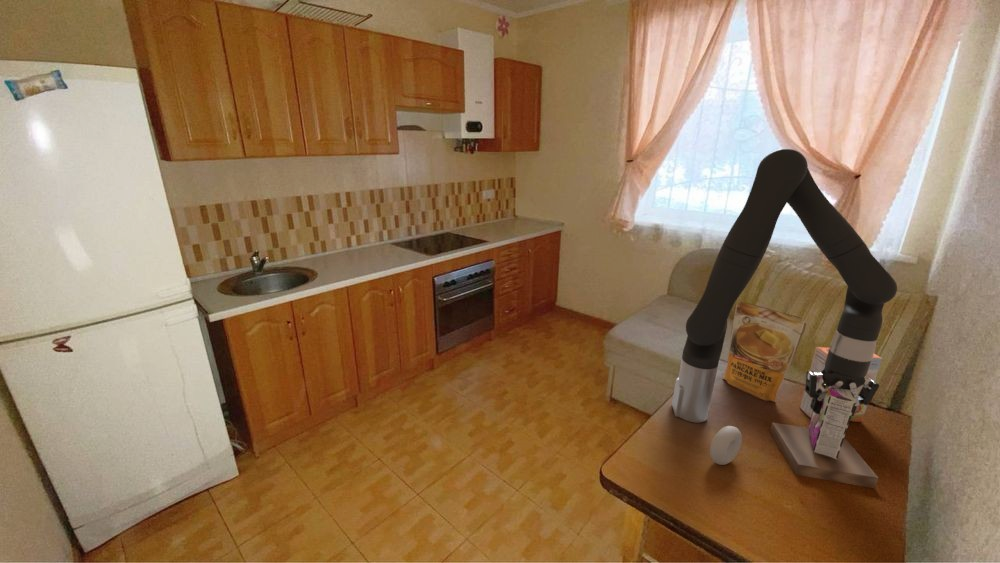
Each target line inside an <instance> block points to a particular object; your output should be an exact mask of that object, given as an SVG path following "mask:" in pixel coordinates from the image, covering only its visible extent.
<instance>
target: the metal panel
mask: <svg viewBox="0 0 1000 563" xmlns="http://www.w3.org/2000/svg"><path fill="white" fill-rule="evenodd" d="M769 430H770V431H769V432H770V434H771V436H772V438H773V439H774V441H775V443H776V444H777V446H778V447H779V449H780V451H781V452H782V454H783V456H784V458H785V459H786V461H787V462H788V464H789V466H790V467H791V469H792V471H793V472H794V474H795V475H796V476H802V477H808V478H813V479H818V480H819V479H820V480H826V481H831V482H836V483H843V484H849V485H853V486H859V487H865V488H871V489H875V488H876V487H877V484H878V480H879V479H880V478H879V477H878V475H876V473H875V472H874V470H873V469H872V468H871V467H870V466H869V465H868V463H867V462H866V461H865V459H863V457H862V456H861V455H860V454H859V453H858V452H857V451H856V449H855V448H854V447H853V445H851V443H850V442H849V441H848V440H847V439H846V438H845V437H844V440H843V443H842V446H841V449H840V452H839V455H838V458H837V459H834V458H830V457H827V456H824V455H820V454H817V453H815V452H813V447H812V442H811V436H810V432H809V427H806V426H799V425H791V424H787V423H786V424H785V423H780V422H773V421H772V422H771V426H770V429H769Z"/></svg>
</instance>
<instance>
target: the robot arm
mask: <svg viewBox="0 0 1000 563" xmlns="http://www.w3.org/2000/svg"><path fill="white" fill-rule="evenodd" d="M787 204H788V205H789V207H790V208H791V209H792V210H793V212H794V213H795V214H796V216H797V217H798V218H799V220H800V221H801V224H802V225H803V227H804V228H805V230H806V231H807V233H808V234H809V237H811V239H812V241H813V242H814V243H815V245H816V246H817V247H818V249H819V250H820V251H821V253H822V254H823V255H824V257H825V258H826V259H827V260H828V262H830V264H831V265H832V266H833V267H834V268H835V269H836V271H837V272H838V273H839V275H840V276H841V278H842V280H843V281H844V282H845V284H846V285H847V287H846V294H845V297H844V298H845V300H844V305H843V309H842V310H843V311H842V313H841V315H840V318H839V320H838V325H837V327H836V331H835V332H834V335H833V337H832V339H831V342H830V345H829V347H828V348H829V352H828V355H827V358H826V361H825V368H824V370H823V371H821V373H813V372H812V371H810V370H807V371H806V372H805V373H806V375H805V387H804V390H805V391H806V392H807V394H808V395H809V396H810V397H811V398H812V402H811V405H810V407H811V409H812V410H813V411H814V413H816V414H820V411H821V407H822V404H823V400H824V398H825V395H826V394H827V391H828V389H826V388H825V386H827V387H829V389H837V388H839V389H846V390H850V391H851V392H853V395H854V397H855V400H856V404H855V407H854V409H853V412H852V415H851V416H853V415H854V413H855V410H856V407H857V406H859V405H860V404H864V405H867V406H868V405H870V403H871V401H872V399H873V398H874V397H875V394H876V392H877V391H878V389H879V388H880V384H879V383H878V382H877V381H876V380H875V381H874V380H873V379H871V378H868V379H865V376H866V375H867V372H868V369H869V366H870V363H871V360H872V357H873V355H874V354H875V351H876V346H877V341H878V338H879V334H880V332H881V329H882V326H883V308H884V306H885V304H886V303H889V302H890V301H892V300H893V299H894V297H895V296H896V294H897V292H898V285H897V282H896V280H895V279H894V278H893V277H892V275H891V274H890V273H889V272H888V271H887V270H886V269H885V267H884V266H883V265H882V263H880V262H879V261H878V260H877V259H876V257H875V256H874V255H873V254H872V253H871V250H870V249H869V248H868V245H867V244H866V243H865V241H864V240H863V238H861V236H860V235H859V233H857V231H856V230H855V228H854V227H852V225H851V224H850V223H849V222H848V221H847V219H846V218H845V217H844V216H843V215H842V214H841V213H840V212H839V210H837V209H836V207H835V206H833V204H832V202H830V201H829V200H828V199H827V197H826V196H825V195H824V193H823V192H822V190H821V189H820V188H819V186H818V185H817V183H816V181H815V179H814V178H813V176H812V174H811V171H810V169H809V167H808V161H807V158H806V157H805V156H804V154H802V153H801V152H800V151H798V150H797V149H793V148H780V149H776V150H774V151H771V152H770V153H768V154H767V155H765V156H764V157H763V158H762V159H761V160H760V162H759V163H758V166H757V169H756V173H755V177H754V180H753V183H752V186H751V189H750V191H749V194H748V197H747V199H746V201H745V205H744V206H743V207H742V208H743V209H742V210H741V212H740V213H739V215H738V217H737V218H736V219H735V221H734V223H733V225H731V228H730V229H729V232H728V233H727V235H726V237H725V239H724V241H723V243H722V245H721V247H720V249H719V252H718V254H717V256H716V259H715V262H714V264H713V266H712V267H711V268H712V269H711V270H710V271H711V272H710V274H709V277H708V281H707V284H706V287H705V290H704V292H703V294H702V296H701V298H700V299H699V301H698V302H697V305H696V306H695V309H694V310H693V311H692V312H691V313H690V315H689V317H688V318H687V320H686V322H685V331H686V334H687V336H686V341H685V344H684V346H683V349H682V354H681V361H680V366H679V374H678V377H676V379H675V383H674V384H675V385H674V391H673V395H672V401H671V402H672V403H671V406H672V409H673V414H674V416H675V417H676V418H677V417H678V418H680V419H682V420H684V421H686V422H690V423H699V424H700V423H704V422H706V421H707V420H708V416H709V413H710V406H711V402H712V398H713V397H712V396H713V392H714V386H715V382H716V378H717V377H716V376H717V371H718V367H719V363H720V359H721V355H722V353H723V352H722V351H723V348H724V347H723V346H724V341H725V338H726V333H727V328H728V319H729V316H730V314H731V312H732V309H733V306H734V305H735V304H736V303H737V302H736V301H737V300H738V299H739V297H740V296H741V295H742V293H743V291H744V290H745V289H746V287H747V285H748V284H749V282H750V281H751V279H752V278H753V277H754V275H755V273H756V271H757V270H758V268H759V266H760V264H761V262H762V260H763V258H764V256H765V254H766V252H767V250H768V247H769V244H770V242H771V239H772V237H773V235H774V231H775V228H776V224H777V222H778V220H779V218H780V215H781V214H782V211H783V210H784V208H785V206H786V205H787ZM821 378H822V379H823V381H822V382H821V383H820V384H819V385H818V388H817V389H816V385H817V383H818V382H819V380H820V379H821ZM861 385H863V387H862V389H861V391H860V393H859V394H858V392H857V388H858V387H860V386H861Z"/></svg>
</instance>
